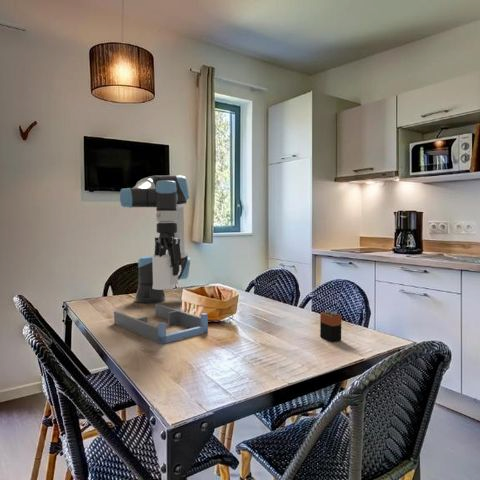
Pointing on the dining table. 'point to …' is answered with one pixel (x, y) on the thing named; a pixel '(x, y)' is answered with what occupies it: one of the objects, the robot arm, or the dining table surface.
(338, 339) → the battery
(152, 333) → the grey rectangular frame
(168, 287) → the mug
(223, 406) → the dining table surface
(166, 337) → the blue bezel
